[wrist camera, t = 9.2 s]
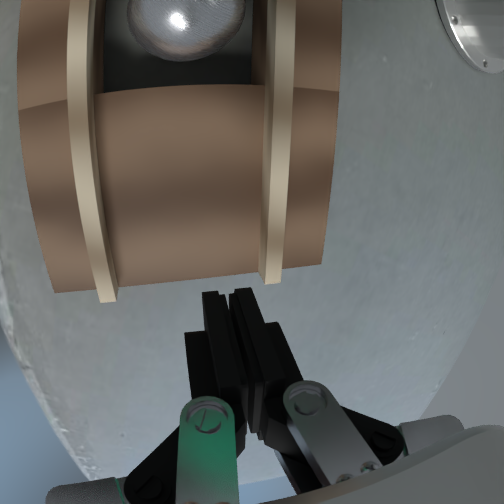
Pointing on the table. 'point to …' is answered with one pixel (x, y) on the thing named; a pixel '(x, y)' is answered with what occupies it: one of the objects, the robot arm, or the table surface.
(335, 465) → the robot arm
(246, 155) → the walnut board
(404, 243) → the table surface
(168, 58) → the steel ball
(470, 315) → the table surface
